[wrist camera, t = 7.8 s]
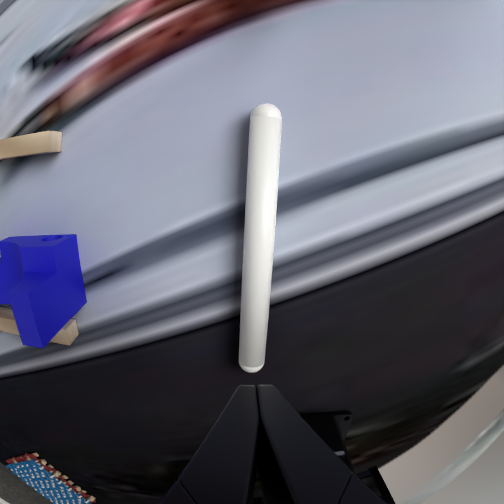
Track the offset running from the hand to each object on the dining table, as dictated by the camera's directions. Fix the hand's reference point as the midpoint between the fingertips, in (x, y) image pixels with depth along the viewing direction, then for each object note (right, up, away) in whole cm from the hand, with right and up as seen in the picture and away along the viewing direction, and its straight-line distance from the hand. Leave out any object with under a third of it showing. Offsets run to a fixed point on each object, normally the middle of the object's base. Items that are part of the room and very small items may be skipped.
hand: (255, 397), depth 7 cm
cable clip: (-17, +3, +11) cm, 20 cm away
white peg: (0, +4, +11) cm, 11 cm away
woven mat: (-26, -26, +19) cm, 41 cm away
